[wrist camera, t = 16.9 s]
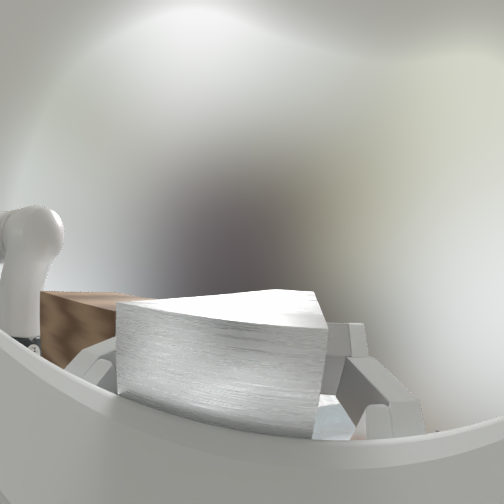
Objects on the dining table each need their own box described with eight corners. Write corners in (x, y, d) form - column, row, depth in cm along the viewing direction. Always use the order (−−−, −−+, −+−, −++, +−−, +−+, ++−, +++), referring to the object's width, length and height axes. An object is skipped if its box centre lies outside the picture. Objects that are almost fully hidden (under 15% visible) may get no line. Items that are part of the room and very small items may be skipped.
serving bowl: (373, 424, 45) (380, 397, 45) (423, 473, 24) (438, 441, 25) (278, 433, 44) (282, 404, 45) (297, 502, 23) (306, 469, 24)
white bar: (121, 428, 5) (116, 301, 5) (272, 317, 28) (275, 289, 28) (303, 474, 4) (328, 328, 4) (311, 320, 27) (313, 291, 27)
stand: (67, 474, 20) (40, 290, 22) (121, 440, 33) (115, 292, 36) (138, 515, 17) (114, 311, 20) (184, 464, 31) (186, 303, 33)
